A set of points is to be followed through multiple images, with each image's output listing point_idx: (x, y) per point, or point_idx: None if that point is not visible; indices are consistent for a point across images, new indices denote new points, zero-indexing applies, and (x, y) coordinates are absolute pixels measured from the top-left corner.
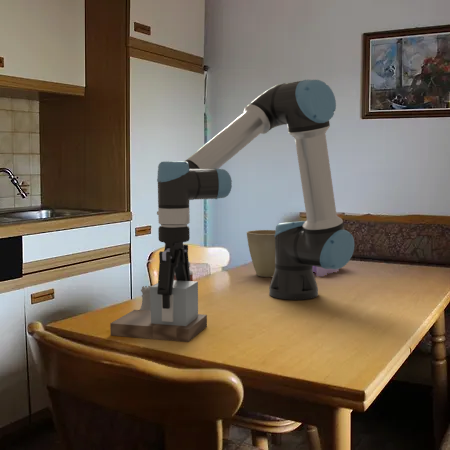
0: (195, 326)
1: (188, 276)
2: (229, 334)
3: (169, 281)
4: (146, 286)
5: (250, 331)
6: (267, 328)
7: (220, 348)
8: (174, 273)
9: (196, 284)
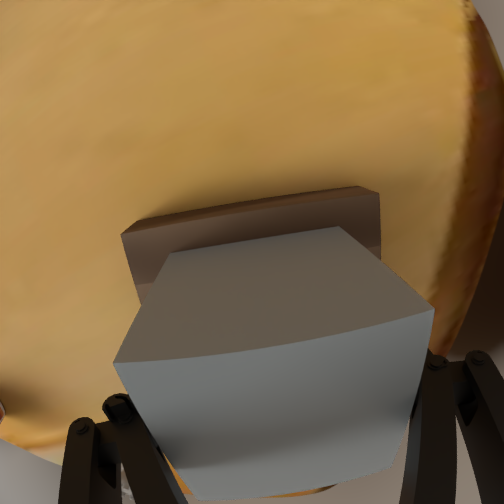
0: (287, 202)
1: (89, 446)
2: (200, 83)
3: (489, 405)
4: (122, 494)
5: (130, 38)
6: (77, 17)
7: (377, 56)
8: (421, 477)
9: (151, 349)
